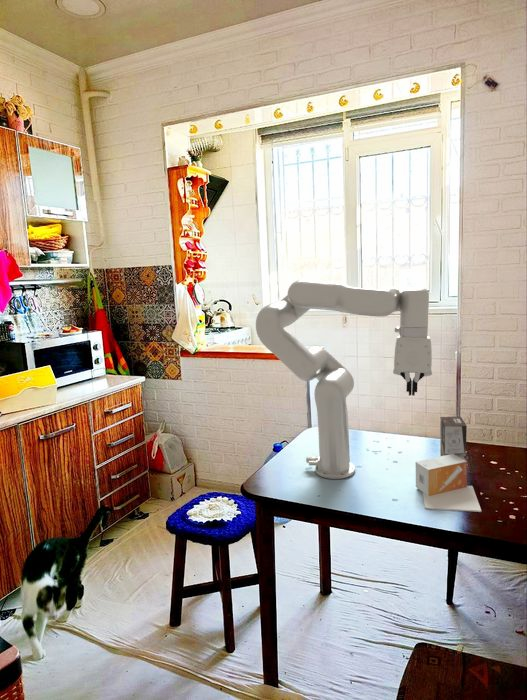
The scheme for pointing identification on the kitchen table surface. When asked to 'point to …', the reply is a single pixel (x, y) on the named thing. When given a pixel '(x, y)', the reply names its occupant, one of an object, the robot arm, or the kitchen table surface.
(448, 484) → the small box
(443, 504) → the mat
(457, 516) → the kitchen table surface
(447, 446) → the coffee box
